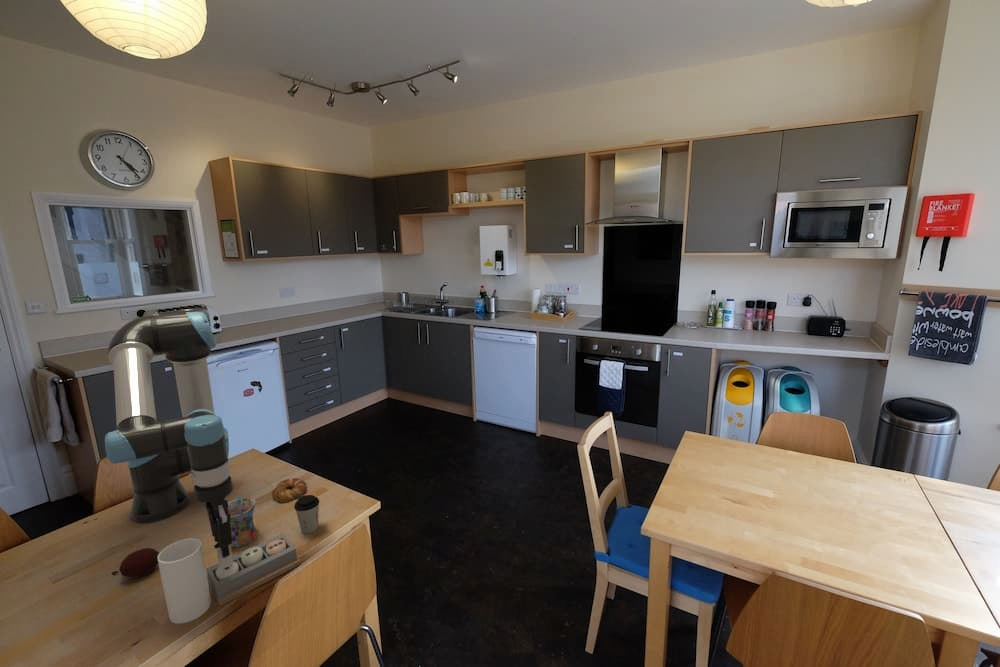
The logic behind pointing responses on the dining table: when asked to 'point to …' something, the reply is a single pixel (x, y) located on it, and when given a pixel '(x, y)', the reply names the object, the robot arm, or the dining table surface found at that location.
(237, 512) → the mug
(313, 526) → the coffee cup
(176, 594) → the cup
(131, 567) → the potato
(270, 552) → the button
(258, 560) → the button
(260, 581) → the console
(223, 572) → the button
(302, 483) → the bagel
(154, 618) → the dining table surface
